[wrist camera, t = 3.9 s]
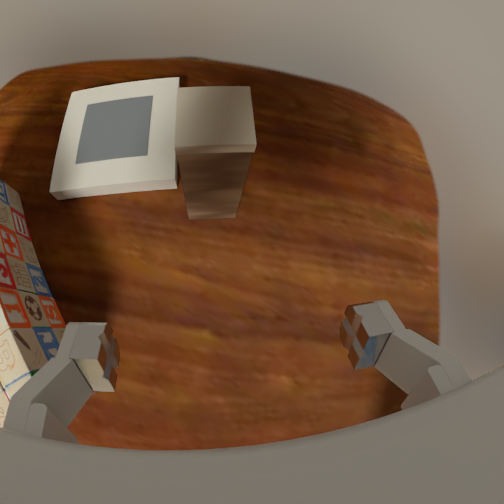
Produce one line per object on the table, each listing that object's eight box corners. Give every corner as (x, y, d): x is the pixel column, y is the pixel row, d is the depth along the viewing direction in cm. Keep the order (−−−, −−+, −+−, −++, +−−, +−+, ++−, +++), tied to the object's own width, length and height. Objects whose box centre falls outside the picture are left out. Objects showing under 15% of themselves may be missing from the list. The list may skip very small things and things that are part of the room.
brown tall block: (188, 220, 26) (174, 147, 14) (187, 177, 27) (177, 87, 15) (235, 218, 27) (256, 144, 15) (232, 175, 27) (249, 86, 16)
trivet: (58, 200, 25) (48, 192, 23) (77, 102, 27) (71, 91, 25) (177, 188, 26) (174, 178, 24) (180, 89, 29) (179, 76, 27)
